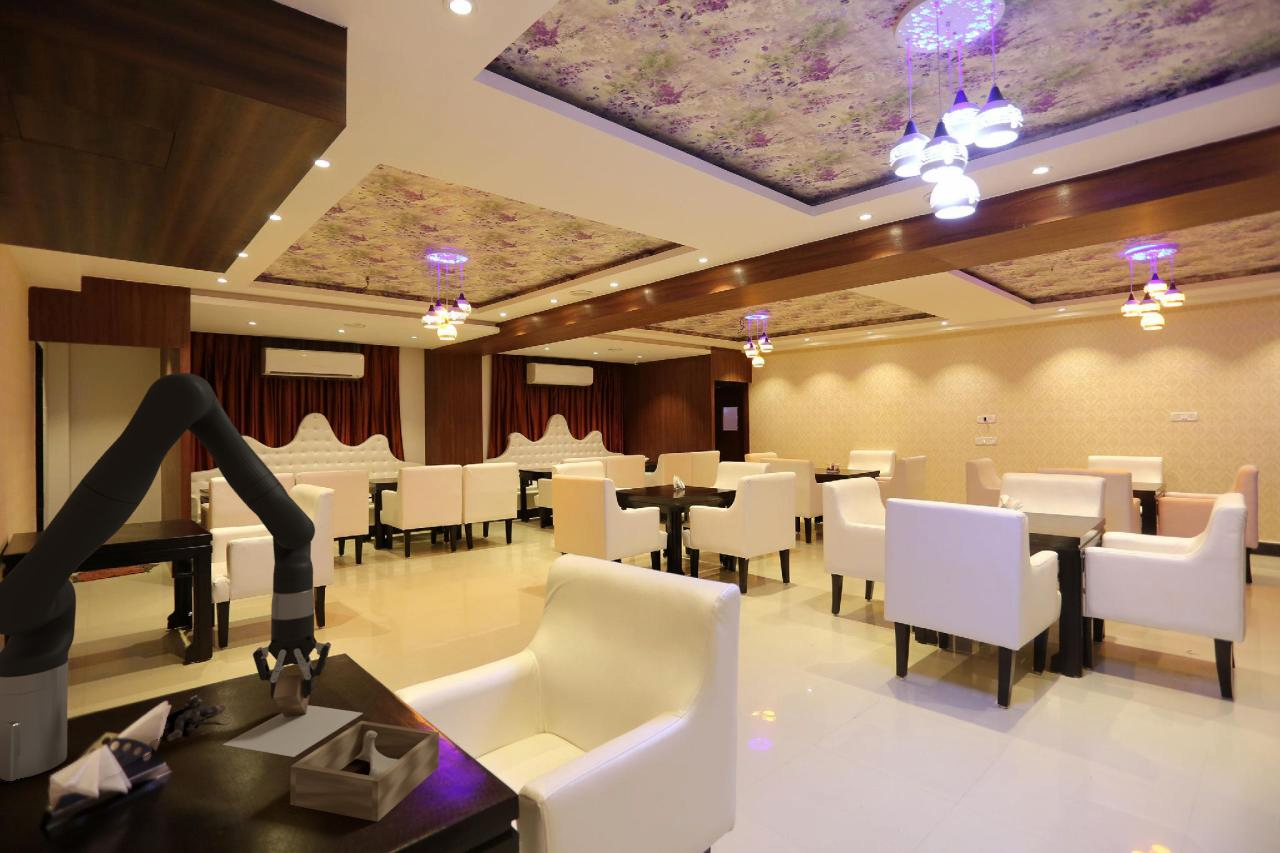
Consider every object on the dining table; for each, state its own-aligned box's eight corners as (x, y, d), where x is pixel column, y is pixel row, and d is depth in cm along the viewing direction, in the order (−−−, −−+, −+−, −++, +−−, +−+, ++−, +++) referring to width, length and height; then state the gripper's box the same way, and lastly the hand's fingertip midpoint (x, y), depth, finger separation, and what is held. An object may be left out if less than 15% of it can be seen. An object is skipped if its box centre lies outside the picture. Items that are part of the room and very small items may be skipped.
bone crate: (377, 821, 94) (378, 781, 94) (290, 804, 98) (290, 766, 98) (438, 766, 109) (439, 732, 109) (360, 754, 114) (361, 720, 114)
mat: (293, 760, 111) (293, 756, 111) (222, 747, 116) (222, 744, 116) (363, 715, 129) (363, 713, 129) (299, 706, 133) (299, 703, 133)
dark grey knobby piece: (186, 742, 116) (154, 696, 120) (168, 779, 118) (137, 732, 122) (249, 715, 127) (217, 673, 131) (231, 749, 129) (201, 707, 133)
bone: (375, 771, 99) (374, 720, 107) (347, 800, 99) (348, 747, 107) (428, 787, 104) (422, 737, 113) (401, 814, 105) (398, 763, 113)
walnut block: (284, 716, 127) (273, 697, 120) (288, 696, 130) (277, 676, 123) (306, 714, 128) (296, 695, 121) (309, 694, 131) (300, 674, 124)
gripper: (246, 620, 120) (245, 710, 119) (328, 615, 123) (327, 702, 123) (259, 609, 127) (258, 694, 127) (336, 604, 131) (335, 687, 130)
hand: (292, 697), depth 125 cm, fingers open, 4 cm apart
